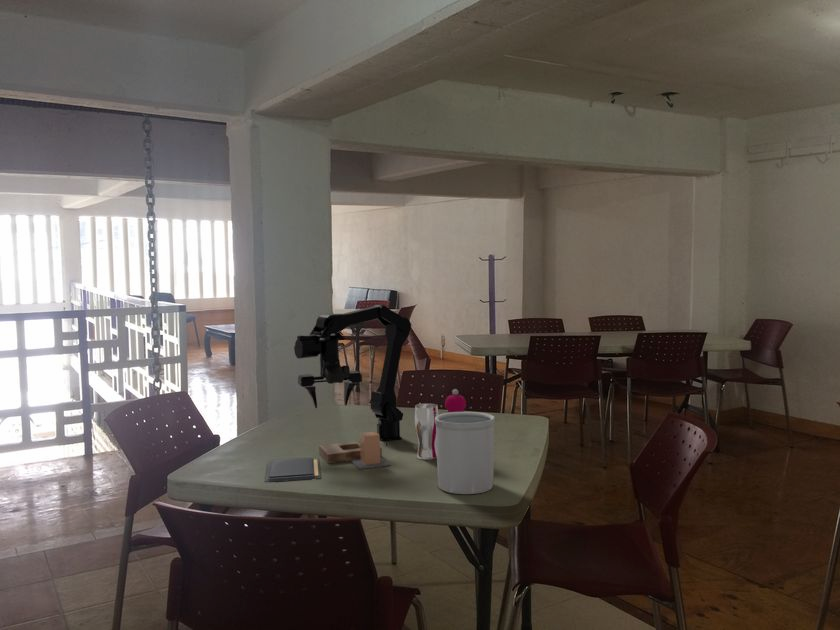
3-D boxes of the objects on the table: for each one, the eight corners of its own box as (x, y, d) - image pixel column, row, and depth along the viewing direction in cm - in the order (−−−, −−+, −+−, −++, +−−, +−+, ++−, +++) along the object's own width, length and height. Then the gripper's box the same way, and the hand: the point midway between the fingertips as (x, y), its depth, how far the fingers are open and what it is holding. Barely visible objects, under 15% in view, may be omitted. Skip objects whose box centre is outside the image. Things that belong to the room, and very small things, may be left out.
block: (375, 459, 198) (374, 431, 198) (380, 463, 194) (379, 434, 194) (360, 460, 197) (359, 433, 196) (365, 464, 193) (364, 436, 192)
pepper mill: (451, 463, 194) (450, 392, 193) (439, 457, 201) (437, 388, 199) (473, 459, 197) (472, 389, 196) (460, 453, 204) (459, 386, 202)
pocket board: (371, 448, 212) (370, 439, 212) (381, 457, 202) (381, 448, 202) (319, 454, 207) (319, 445, 207) (327, 463, 196) (327, 454, 196)
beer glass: (442, 454, 203) (441, 403, 202) (435, 461, 197) (434, 408, 196) (419, 453, 206) (418, 402, 205) (411, 459, 199) (410, 407, 198)
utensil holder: (444, 475, 183) (443, 409, 182) (500, 479, 179) (499, 411, 177) (428, 493, 169) (427, 421, 168) (489, 497, 165) (488, 424, 163)
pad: (380, 457, 201) (380, 456, 201) (390, 465, 193) (390, 464, 193) (350, 461, 198) (350, 459, 198) (359, 469, 190) (359, 468, 190)
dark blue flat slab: (267, 457, 199) (321, 454, 201) (267, 464, 199) (321, 461, 201) (261, 478, 179) (321, 475, 182) (261, 485, 180) (321, 482, 182)
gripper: (304, 360, 200) (305, 414, 201) (366, 356, 207) (367, 408, 208) (296, 356, 210) (298, 407, 211) (356, 352, 217) (357, 402, 218)
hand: (330, 406), depth 212 cm, fingers open, 9 cm apart
